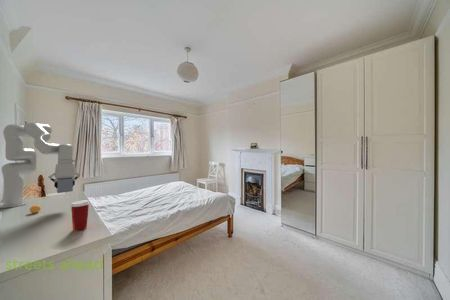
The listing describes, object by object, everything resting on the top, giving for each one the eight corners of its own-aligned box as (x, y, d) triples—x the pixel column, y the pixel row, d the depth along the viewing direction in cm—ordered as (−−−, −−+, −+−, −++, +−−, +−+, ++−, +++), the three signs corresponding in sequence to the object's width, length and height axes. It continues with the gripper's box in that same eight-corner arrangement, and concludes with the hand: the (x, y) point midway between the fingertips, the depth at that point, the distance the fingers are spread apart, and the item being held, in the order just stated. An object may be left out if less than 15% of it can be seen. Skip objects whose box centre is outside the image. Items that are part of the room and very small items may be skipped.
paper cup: (92, 226, 96) (93, 200, 96) (79, 232, 88) (80, 204, 89) (79, 225, 97) (80, 199, 97) (65, 231, 89) (66, 203, 89)
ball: (29, 212, 116) (29, 205, 116) (40, 211, 119) (40, 203, 119) (29, 214, 112) (29, 206, 112) (40, 212, 116) (40, 205, 116)
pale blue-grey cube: (56, 191, 123) (56, 178, 123) (71, 189, 129) (71, 177, 129) (57, 193, 118) (57, 179, 118) (72, 191, 124) (72, 178, 124)
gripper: (80, 161, 133) (79, 184, 132) (47, 162, 120) (46, 188, 120) (82, 161, 127) (81, 186, 127) (47, 162, 115) (47, 189, 115)
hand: (64, 186), depth 123 cm, fingers closed on pale blue-grey cube, 7 cm apart
